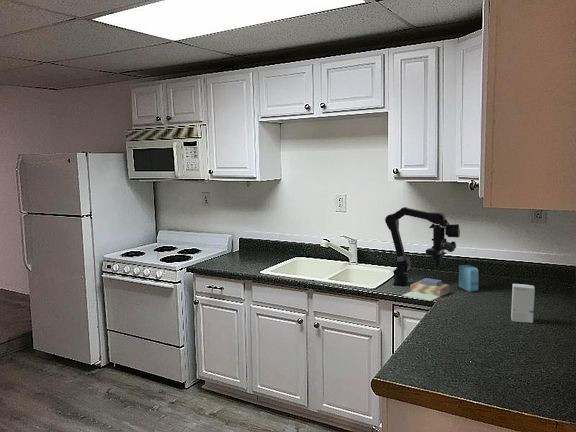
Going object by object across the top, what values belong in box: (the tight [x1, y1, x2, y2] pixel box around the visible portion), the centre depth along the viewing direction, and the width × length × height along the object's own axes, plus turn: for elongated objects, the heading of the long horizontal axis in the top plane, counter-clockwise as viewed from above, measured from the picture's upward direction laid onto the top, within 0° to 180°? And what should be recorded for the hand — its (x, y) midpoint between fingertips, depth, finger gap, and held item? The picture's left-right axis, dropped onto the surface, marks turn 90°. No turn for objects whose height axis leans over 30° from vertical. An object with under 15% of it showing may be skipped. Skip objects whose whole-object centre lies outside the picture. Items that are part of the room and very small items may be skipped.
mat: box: [401, 291, 440, 302], centre depth 245 cm, size 16×9×1 cm, turn 48°
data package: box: [458, 264, 479, 293], centre depth 256 cm, size 12×4×12 cm, turn 9°
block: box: [419, 277, 443, 286], centre depth 253 cm, size 9×6×2 cm, turn 48°
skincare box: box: [510, 283, 536, 324], centre depth 203 cm, size 8×6×15 cm
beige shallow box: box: [409, 280, 450, 298], centre depth 252 cm, size 16×11×4 cm
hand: (438, 265), depth 259 cm, fingers closed
